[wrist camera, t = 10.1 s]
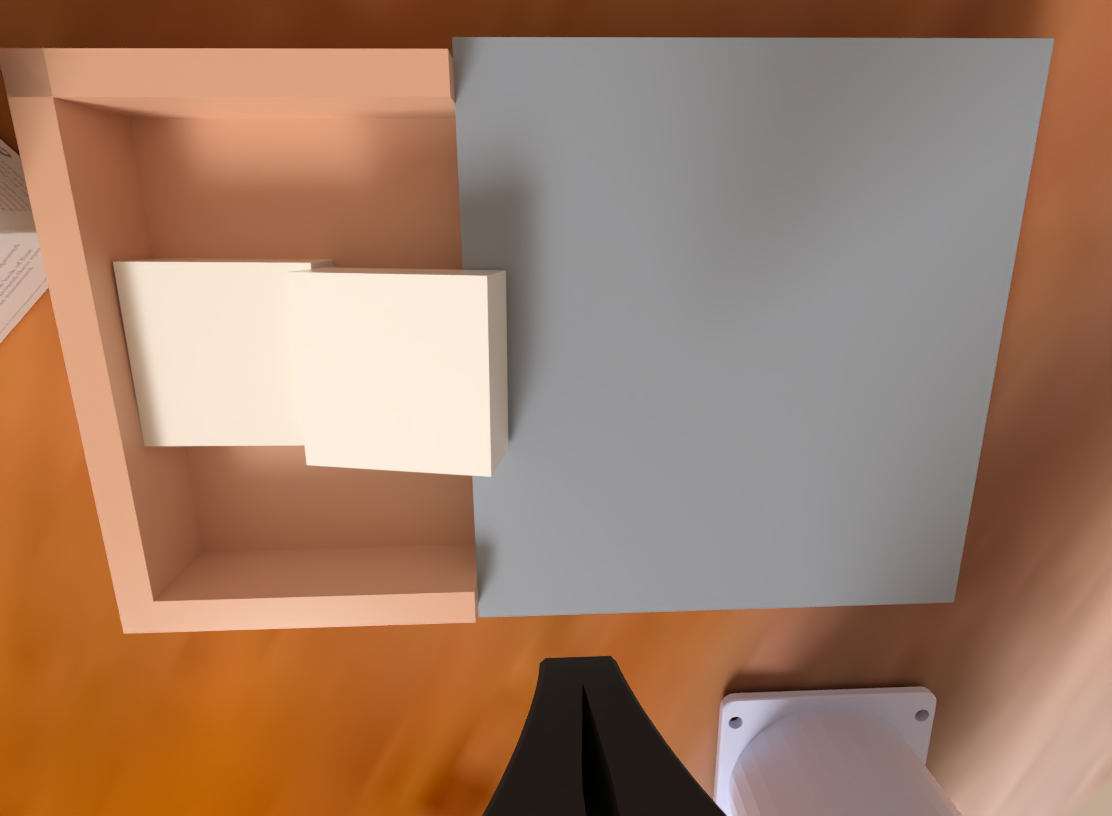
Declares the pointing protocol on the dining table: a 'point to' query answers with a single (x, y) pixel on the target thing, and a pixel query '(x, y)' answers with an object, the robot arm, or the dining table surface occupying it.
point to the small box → (17, 245)
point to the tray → (244, 233)
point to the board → (740, 310)
